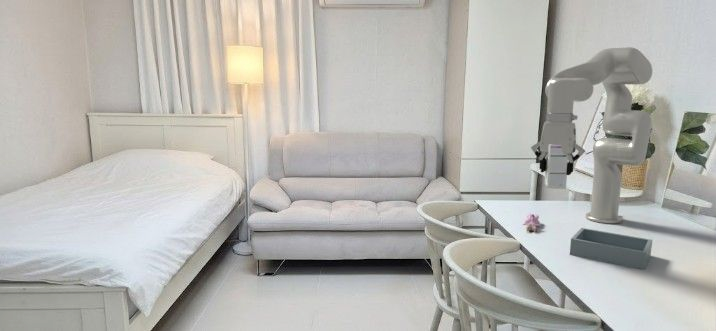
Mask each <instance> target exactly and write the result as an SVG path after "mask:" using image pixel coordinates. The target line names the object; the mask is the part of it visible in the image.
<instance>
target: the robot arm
mask: <svg viewBox="0 0 716 331" xmlns="http://www.w3.org/2000/svg"><path fill="white" fill-rule="evenodd" d="M652 75H653V66H652V64H651V62H650V60H649V59H648V58H647V57H646V56H645V55H644V54H643V52H641V50H639V49H637V48H635V47H631V46H630V47H629V46H628V47H627V46H626V47H611V48H605V49H602V50H599V52H597V53H595V54H594V55H593V56H592V57H591V58H590V59H587V61H586V62H583V63H581V64H577V65H575V66H572V67H569V68H566V69H563V70H561V71H559V72H557V73H555V74H554V75H553V76H552V77H551V78H550V79H549V80H548V81H547V84H546V86H545V89H544V90H545V91H544V92H545V96H546V98H547V107H546V120H545V121H544V123H543V127H542V131H541V137H540V141H538V142H537V143H535V144H534V145H532V146H531V147H530V149H531V150H532V152H533V153H534V155H535V156H536V157H537V158H538V160H539V170H540V173H545V171H546V154H547V153H548V147H549V144H560V145H561V147H562V151H563V154H566V155H568V162H567V176H570V175H571V174H572V173H573V172H574V164H575V162H576V161H577V160H578V159H580V157H582V156H583V155H584V153H586V150H585V149H584V148H583V147H582V146H581V145H580V144H578V142H577V132H576V131H577V128H576V123H575V122H573V121H576V120H578V115H575V114H574V102H576V103H577V102H578V103H579V102H585V101H588V100H589V99H590V98H591V97H592V95H593V94H594V86H596V85H599V84H601V83H602V85H603V88H604V91H605V93H606V94H605V95H606V101H605V107H604V113H603V117H602V118H603V119H602V125H601V126H602V131H603V132H604V133H605V134H608V135H613V136H614V135H615V136H625V137H631V138H632V139H626V138H615V137H602V138H599V139H597V140H596V141H595V142H594V144H593V147H592V155H593V164H594V165H593V177H592V178H593V180H592V188H591V189H592V190H591V200H590V211H589V212H587V213H585V219H587V220H589V221H592V222H596V223H602V224H620V223H622V222H623V218H622V216H620V215H619V207H620V199H621V187H622V180H623V176H622V175H623V174H622V172H621V170H620V168H619V167H618V166H619V165H621V166H629V167H639V166H641V165H642V164H643V163H644V162H645V160H646V156H647V152H648V147H649V141H650V135H651V130H652V118H651V115H650V114H649V112H647V111H645V110H636V109H635V110H632V104H633V100H634V99H633V98H634V97H633V94H632V92H631V91H630V89H629V88H628V87H627V85H645V84H647V83H648V82H649V81H650V80H651V79H652ZM538 148H539V149H538ZM576 151H578V152H577V154H576V155H574V154H573V153H575V152H576Z"/></svg>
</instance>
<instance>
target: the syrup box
mask: <svg viewBox="0 0 716 331" xmlns="http://www.w3.org/2000/svg"><path fill="white" fill-rule="evenodd" d="M545 159H546V171H544V173H545V174H544V185H545V186H546V187H547V188H548V189H554V190H556V189H558V190H559V189H561V190H565V189H567V181H568V180H567V177H568V175H567V163H568V162H569V160H568V155H566V154H563V151H562V147H561V145H560V144H549V147H548V153H547V154H546V157H545Z"/></svg>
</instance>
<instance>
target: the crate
mask: <svg viewBox="0 0 716 331" xmlns="http://www.w3.org/2000/svg"><path fill="white" fill-rule="evenodd" d="M652 244H653V239H651V238H650V239H649V238H644V237H638V236H631V235H625V234H620V233H615V232H610V231H609V232H608V231H602V230H598V229H597V230H596V229H591V228H585V227H581V228H580V229H579V230H578V231H576V233H575V234H574V235H573V236H572V237H571V238H570V247H569V255H570V256H575V257H582V258H586V259H590V260H595V261H600V262H606V263H611V264H615V265H619V266H620V265H621V266H625V267H630V268H635V269H640V270H643V271H644V270H646V268H647V265H648V262H649V260H650V258H651V253H652V247H653V245H652Z"/></svg>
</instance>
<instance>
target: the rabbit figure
mask: <svg viewBox="0 0 716 331" xmlns="http://www.w3.org/2000/svg"><path fill="white" fill-rule="evenodd" d="M539 218H540V216H539V214H537V213H536V214H533V213H528V214H527V215H526V220H524V223H522V225H523V226H526V232H527V233H528V232H531V231H532V232H533V231H534V232H533V233H537V231H538V227H540V228H541V227H542V225H540V223H541V222H540V220H539Z"/></svg>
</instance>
